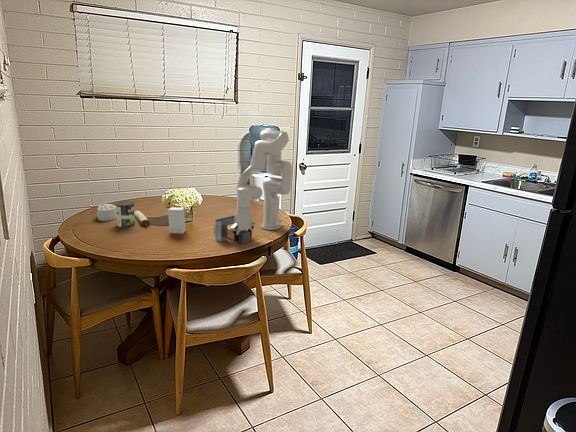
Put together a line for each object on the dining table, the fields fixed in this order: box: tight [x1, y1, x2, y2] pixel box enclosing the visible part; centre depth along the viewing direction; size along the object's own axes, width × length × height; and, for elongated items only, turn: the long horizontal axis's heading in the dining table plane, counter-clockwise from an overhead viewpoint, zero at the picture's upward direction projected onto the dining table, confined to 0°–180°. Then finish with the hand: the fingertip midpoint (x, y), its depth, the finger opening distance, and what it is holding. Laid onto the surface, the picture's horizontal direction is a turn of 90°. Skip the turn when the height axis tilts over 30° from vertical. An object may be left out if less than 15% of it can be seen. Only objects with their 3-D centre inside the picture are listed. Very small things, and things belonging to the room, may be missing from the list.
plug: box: [213, 223, 251, 245], centre depth 227 cm, size 5×26×6 cm, turn 49°
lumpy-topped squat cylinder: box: [96, 203, 117, 222], centre depth 250 cm, size 10×13×9 cm
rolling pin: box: [134, 209, 151, 227], centre depth 247 cm, size 32×6×5 cm, turn 30°
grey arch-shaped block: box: [214, 214, 235, 243], centre depth 226 cm, size 19×5×12 cm, turn 139°
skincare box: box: [167, 206, 186, 235], centre depth 229 cm, size 8×6×15 cm
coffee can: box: [115, 200, 136, 228], centre depth 237 cm, size 10×10×14 cm
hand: (242, 239), depth 221 cm, fingers open, 9 cm apart
